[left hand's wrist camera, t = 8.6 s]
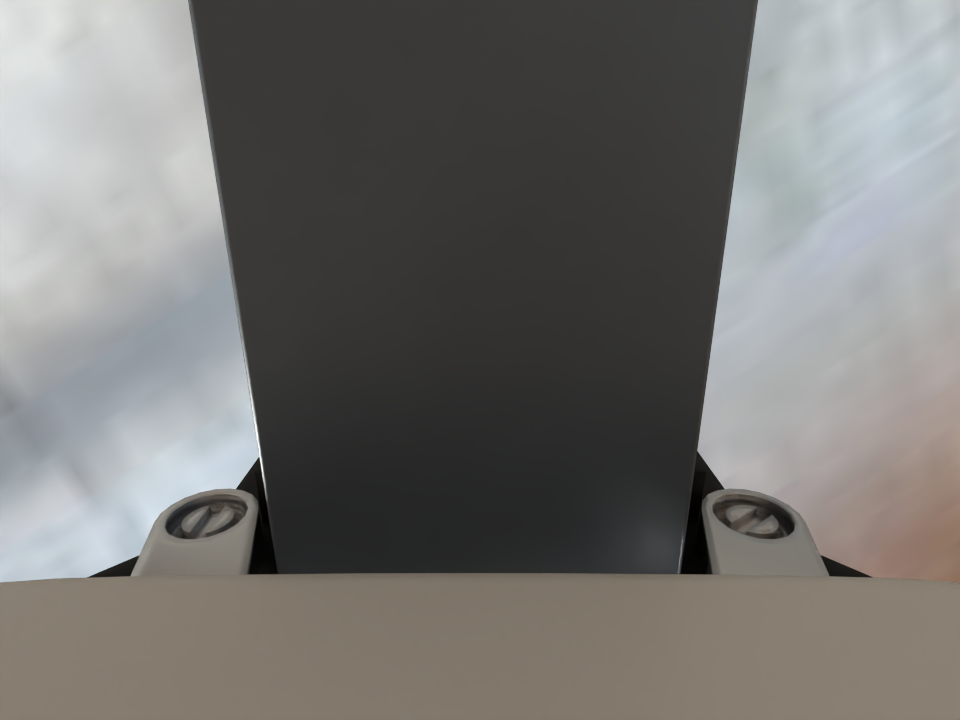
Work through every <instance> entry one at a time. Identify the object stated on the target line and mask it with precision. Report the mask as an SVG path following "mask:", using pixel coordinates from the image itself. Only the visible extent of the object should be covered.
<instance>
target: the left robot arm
mask: <svg viewBox="0 0 960 720" xmlns="http://www.w3.org/2000/svg"><path fill="white" fill-rule="evenodd" d="M0 720H960V583H957V582H945V581H930V580H914V579H898V578H873V577H871V576H868V575H866V574H864V573H861V572H859V571H857V570H854V569H852V568H850V567H847V566H845V565H843V564H840V563H838V562H835V561H833V560H831V559H828V558H826V557H824V556H821V555H820V553H819V551H818V549H817V547H816V545H815V542H814V540H813V538H812V536H811V533H810V531H809V529H808V527H807V524H806V522H805V521H804V520H803V518H802V517H801V515H800V514H799V513H798V512H797V511H795V510H794V509H793V508H792V507H790V506H789V505H787V504H786V503H784V502H782V501H780V500H778V499H776V498H774V497H771V496H768V495H765V494H763V493H760V492H755V491H750V490H745V489H724V488H723V486H722V485H721V483H720V482H719V481H718V479H717V478H716V476H715V475H714V474H713V472H712V471H711V470H710V468H709V467H708V465H707V464H706V463H705V461H704V460H703V458H702V457H701V456H700V454H699V453H698V451H697V455H696V462H695V470H694V477H693V485H692V492H691V499H690V507H689V514H688V522H687V529H686V536H685V544H684V551H683V559H682V566H681V573H680V574H587V573H349V574H278V573H277V566H276V560H275V553H274V547H273V541H272V534H271V528H270V521H269V515H268V509H267V502H266V496H265V489H264V483H263V477H262V470H261V464H260V457H259V458H258V459H257V461H256V462H255V463H254V465H253V466H252V468H251V469H250V470H249V472H248V473H247V475H246V476H245V477H244V479H243V480H242V481H241V483H240V484H239V486H238V487H237V488H236V489H215V490H210V491H205V492H200V493H197V494H195V495H192V496H189V497H186V498H184V499H182V500H180V501H178V502H176V503H174V504H173V505H171V506H170V507H168V508H167V509H166V510H165V511H163V512H162V513H161V514H160V515H159V517H158V518H157V520H156V521H155V522H154V524H153V527H152V529H151V531H150V533H149V536H148V538H147V540H146V542H145V545H144V547H143V549H142V551H141V553H140V555H139V556H137V557H134V558H132V559H130V560H127V561H125V562H123V563H120V564H118V565H116V566H113V567H111V568H109V569H106V570H104V571H102V572H99V573H97V574H94V575H92V576H90V577H87V578H63V579H44V580H31V581H17V582H3V583H0Z"/></svg>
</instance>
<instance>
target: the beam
mask: <svg viewBox="0 0 960 720" xmlns="http://www.w3.org/2000/svg"><path fill="white" fill-rule="evenodd" d="M188 3H189V9H190V15H191V22H192V28H193V35H194V41H195V47H196V54H197V60H198V67H199V73H200V79H201V86H202V92H203V99H204V105H205V111H206V118H207V124H208V131H209V137H210V143H211V150H212V156H213V163H214V169H215V175H216V182H217V188H218V195H219V201H220V208H221V214H222V220H223V227H224V233H225V240H226V246H227V252H228V259H229V265H230V272H231V278H232V284H233V291H234V297H235V304H236V310H237V316H238V323H239V329H240V336H241V342H242V348H243V355H244V361H245V368H246V374H247V380H248V387H249V393H250V400H251V406H252V412H253V419H254V425H255V432H256V438H257V445H258V451H259V457H260V464H261V470H262V477H263V483H264V489H265V496H266V502H267V509H268V515H269V521H270V528H271V534H272V541H273V547H274V553H275V560H276V566H277V573H278V574H349V573H587V574H680V573H681V566H682V559H683V551H684V544H685V536H686V529H687V522H688V514H689V507H690V499H691V492H692V485H693V477H694V470H695V462H696V455H697V448H698V440H699V433H700V425H701V418H702V410H703V403H704V396H705V388H706V381H707V373H708V366H709V359H710V351H711V344H712V336H713V329H714V322H715V314H716V307H717V299H718V292H719V285H720V277H721V270H722V262H723V255H724V248H725V240H726V233H727V225H728V218H729V211H730V203H731V196H732V188H733V181H734V174H735V166H736V159H737V151H738V144H739V136H740V129H741V122H742V114H743V107H744V99H745V92H746V85H747V77H748V70H749V62H750V55H751V48H752V40H753V33H754V25H755V18H756V11H757V3H758V0H188Z"/></svg>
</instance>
